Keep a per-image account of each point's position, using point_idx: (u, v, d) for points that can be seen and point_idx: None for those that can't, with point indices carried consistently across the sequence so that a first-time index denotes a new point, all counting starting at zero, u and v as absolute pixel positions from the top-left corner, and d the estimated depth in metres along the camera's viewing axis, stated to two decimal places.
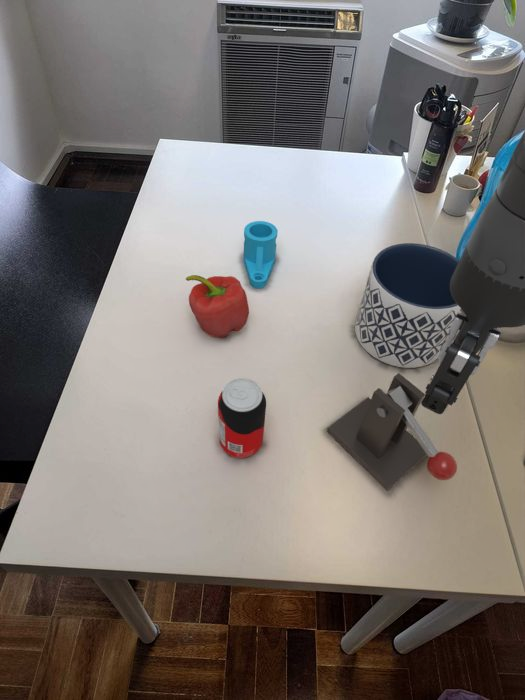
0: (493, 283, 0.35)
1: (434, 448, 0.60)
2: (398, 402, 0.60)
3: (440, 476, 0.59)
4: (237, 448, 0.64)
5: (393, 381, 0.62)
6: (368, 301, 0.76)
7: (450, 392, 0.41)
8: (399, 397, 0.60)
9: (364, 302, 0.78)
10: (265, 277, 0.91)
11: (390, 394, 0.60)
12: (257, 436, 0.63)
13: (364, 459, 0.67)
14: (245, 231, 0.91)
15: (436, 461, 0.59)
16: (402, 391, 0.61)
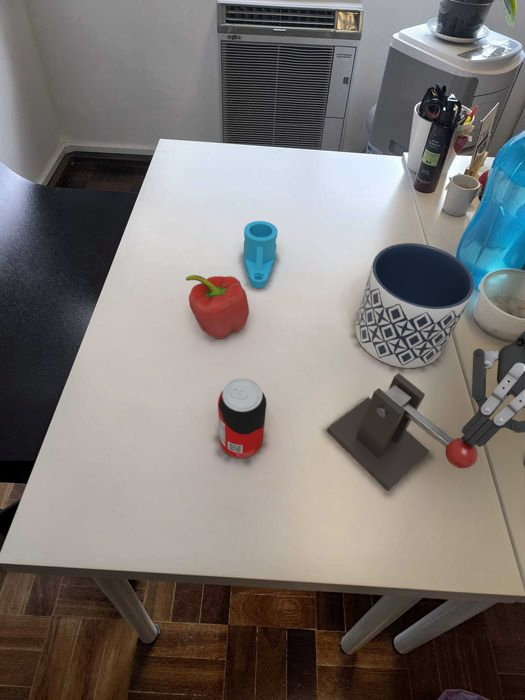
0: None
1: (447, 436, 0.57)
2: (395, 398, 0.60)
3: (460, 461, 0.55)
4: (237, 448, 0.64)
5: (393, 381, 0.62)
6: (368, 301, 0.76)
7: None
8: (395, 394, 0.61)
9: (364, 302, 0.78)
10: (265, 277, 0.91)
11: (385, 393, 0.61)
12: (257, 436, 0.63)
13: (364, 459, 0.67)
14: (245, 231, 0.91)
15: (450, 446, 0.56)
16: (398, 389, 0.61)
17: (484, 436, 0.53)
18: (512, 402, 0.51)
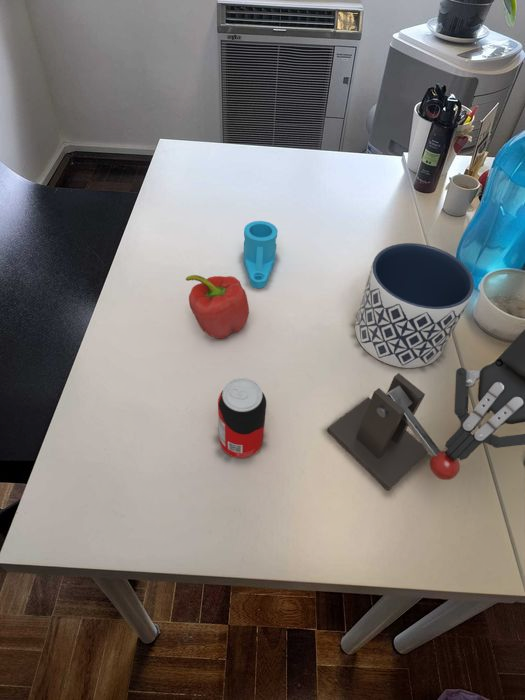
0: None
1: (436, 447, 0.60)
2: (398, 402, 0.60)
3: (443, 476, 0.58)
4: (237, 448, 0.64)
5: (393, 381, 0.62)
6: (368, 301, 0.76)
7: None
8: (399, 397, 0.60)
9: (364, 302, 0.78)
10: (265, 277, 0.91)
11: (389, 394, 0.60)
12: (257, 436, 0.63)
13: (364, 459, 0.67)
14: (245, 231, 0.91)
15: (438, 460, 0.59)
16: (402, 391, 0.61)
17: (466, 450, 0.57)
18: (491, 419, 0.55)
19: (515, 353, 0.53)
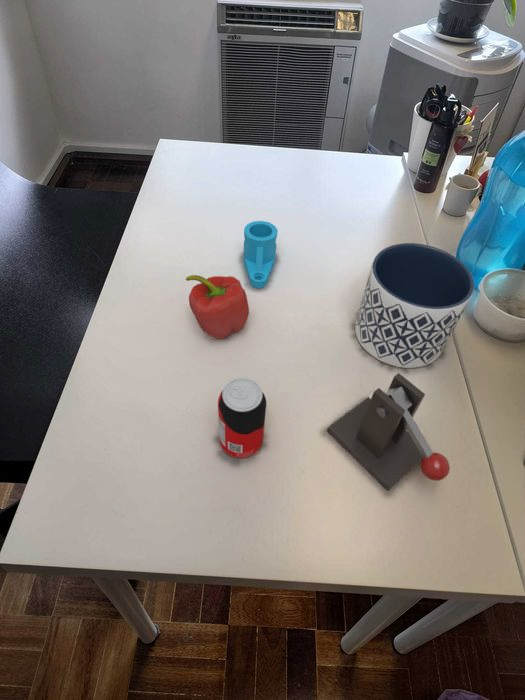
0: None
1: (429, 449, 0.61)
2: (399, 403, 0.60)
3: (433, 477, 0.60)
4: (237, 448, 0.64)
5: (393, 381, 0.62)
6: (368, 301, 0.76)
7: None
8: (400, 398, 0.60)
9: (364, 302, 0.78)
10: (265, 277, 0.91)
11: (391, 395, 0.60)
12: (257, 436, 0.63)
13: (364, 459, 0.67)
14: (245, 231, 0.91)
15: (430, 462, 0.60)
16: (403, 392, 0.61)
17: None
18: None
19: None
